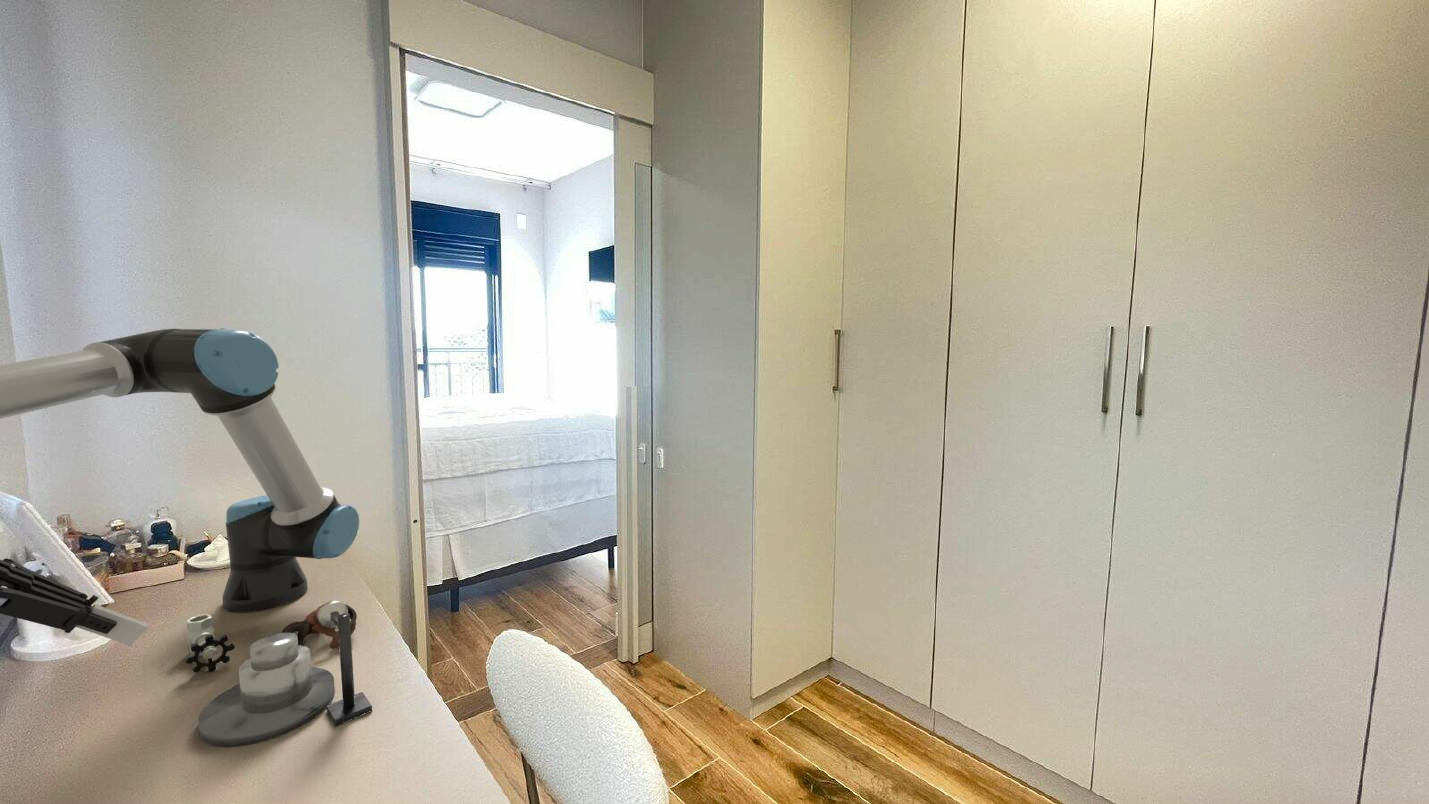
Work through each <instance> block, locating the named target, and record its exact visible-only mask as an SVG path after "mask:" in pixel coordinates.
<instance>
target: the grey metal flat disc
mask: <svg viewBox="0 0 1429 804" xmlns="http://www.w3.org/2000/svg"><path fill="white" fill-rule="evenodd" d="M311 671H312V685H313V686H312V690H311V691H310V693H309V694H308V695H307V696H306V697H304V698H303V699H302V700H300V701H298V702H297V703H295V704H293V705H291V706H288V707H286V708H283V709H281V710H277V711H274V712H269V713H263V714H251V713H247V712H245V711H243V709H242V703H241V692H240V683H238V684H236V685H234V686H232V687H230V688H229V689H226V690H224V691H223V692H221V693H220V694H219V695H217V696H215V697H214V698H213V699H212V700H211V701H210V702H208V703H207V704H206V705H205V706H204V708H203V709H202V710H201V711H200V714H199V716H198V719H197V720H198V732H199V736H200V739H201V740H202V741H203V742H204V743H206V744H207V745H210V746H214V747H219V748H220V747H222V748H233V747H242V746H248V745H253V744H257V743H261V742H265V741H269V740H272V739H275V738H277V737H280V736H283V735H285V734H287V733H290V732H292V731H294V730H296V729H298V728H300V727H302V726H303V725H306V724H307V723H309V722H310V721H312V720H313V719H315V718H316V717H317V716H319V715H320V714H321V713H323V711H324V710H326V709H327V705H329V703H330V702H331V703H332V702H333V699H334V697H335V693H336V689H335V688H336V687H335V677H334V675H333V674H332V673H331V672H330V671H329V670H327V669H324V668H321V667H316V666H311ZM331 703H330V704H331Z"/></svg>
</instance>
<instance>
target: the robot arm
mask: <svg viewBox="0 0 1429 804" xmlns="http://www.w3.org/2000/svg"><path fill="white" fill-rule="evenodd" d="M279 368H280V367H279V361H278V358H277V355H276V353H275V350H274V349H273V348H272V347H271V345H270V344H269V343H268V342H267V341H265V340H264V339H263V338H262V337H260V336H259V335H257V334H255V333H252V332H249V331H246V330H241V329H240V330H236V329H232V328H214V329H211V328H209V329H208V328H207V329H203V328H201V329H198V328H192V329H191V328H190V329H189V328H188V329H187V328H163V329H157V330H152V331H147V332H142V333H137V334H132V335H128V336H124V337H118V338H114V339H109V340H103V341H96V342H92V343H89V344H87V345H86V346H84V347H83V349H82V351H81V350H80V351H77V352H70V353H64V354H57V355H52V356H46V357H40V358H35V359H29V360H22V361H16V362H11V363H6V364H5V363H4V364H0V420H1V419H5V418H9V417H14V416H17V415H21V414H26V413H29V412H35V411H40V410H42V409H43V410H44V409H47V408H51V407H55V406H59V405H64V404H69V403H72V402H76V401H82V400H85V399H91V398H93V397H97V396H102V395H104V396H106V397H110V398H120V397H124V396H128V395H135V394H141V393H180V394H182V393H183V394H190V395H192V398H193V399H194V400H195V401H196V404H197V405H198V406H199V408H200V409H201V411H202V412H203V413H205V414H207V415H210V416H215V417H218V419H219V420H220V421H221V423H222V425H223V426H224V428H225V430H226V431H227V434H228V435H229V436H230V438H231V439H232V441H233V442H234V445H235V446H236V447H237V449H238V450H239V452H240V454H241V455H242V457H243V459H244V461H246V464H247V466H248V467H249V468H250V470H251V472H252V473H253V475H254V476H255V479H257V481H258V482H259V485H260V486H261V488H262V490H263V491H264V493H265V495H260V496H256V497H251V498H247V499H244V500H241V501H236V502H235V503H233V504H231V505H229V506H228V508H227V509H226V512H225V513H226V515H225V517H226V518H225V519H226V521H225V523H224V524H225V528H226V537H227V545H228V546H227V547H228V548H227V549H228V554H229V555H228V556H229V558H228V559H229V566H230V573H229V576H228V577H227V578H228V579H227V581H226V585H225V587H224V591H223V594H222V607H223V609H224V610H225V611H228V612H230V613H231V612H232V613H252V612H258V611H264V610H269V609H272V608H273V609H274V608H276V607H280V606H282V605H285V604H289V603H291V602H294V601H295V600H297V599H299V598H301V597H302V596H304V595H305V594H306V593H307V591H308V589H309V588H308V587H309V586H308V578H307V577H306V575H305V573H304V571H303V569H302V567H301V565H300V563H299V561H298V559H297V558H304V559H305V558H306V559H317V560H322V559H335V558H338V557H340V556H341V555H344V554H345V553H346V552H347V551H348V550H349V549H350V547H351V546H353V545H352V544H354V541H355V539H356V537H357V535H358V531H359V528H360V516H359V513H358V511H357V509H356V508H355V506H352V505H349V504H347V503H344V504H341V503H339V501H338V499H337V498H336V496H335V494H334V492H333V490H331V489H330V488H328V487H325V486H320V484H319V482H318V481H317V479H316V477H315V475H314V473H313V471H312V469H311V467H310V466H309V464H308V461H306V460H307V459H305V456H304V455H303V453H302V451H301V450H300V448H299V446H298V444H297V442H296V440H295V439H294V436H293V435H292V433H291V431H290V429H289V427H288V426H287V424H286V422H285V420H284V418H283V417H282V414H281V413H280V411H279V410H278V408H277V405H276V404H275V402H274V400H273V398H272V396H273V394H274V393H275V391H276V389H277V387H276V381H277V379H278V377H279V372H278V371H277V369H279ZM88 597H89V596H88V595H87V594H86V593H84V592H81V591H79V590H76V589H74V588H72V587H69V586H68V585H65V584H63V583H60V582H58V581H56V580H54V579H52V578H49V577H47V576H45V575H44V574H40V573H38V572H37V571H34V570H32V569H29V568H27V567H26V566H24V565H21V564H20V563H18V562H16V561H14V560H13V559H12V558H7V557H6V558H5V557H4V558H3V559H0V614H1V615H4V616H8V617H11V618H16V619H19V620H23V621H28V622H30V623H35V624H39V625H43V626H48V627H50V628H53V629H58V630H62V631H64V633H65V634H70V633H71V632H72V631H73V630H75V628H78V629H80V630H83V631H86V632H90V633H93V634H96V635H98V636H101V637H104V638H107V639H109V640H113V641H116V642H118V643H121V644H124V645H127V646H132V644H133V643H134V642H135V641H136V640H137V639H138V638H140V636H141V635H142V634H143V633H144V632H146V630H147V629H148V628H149V624H148V622H145V621H142V620H140V619H136V618H134V617H131V616H129V615H126V614H123V613H121V612H118V611H115V610H113V609H111V608H110V609H109V608H107V607H104V606H101V605H98V604H96V602H97V601H98V599H99V596H97V595H95V594H93V595H92V596H90V598H88ZM87 598H88V599H87Z"/></svg>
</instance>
